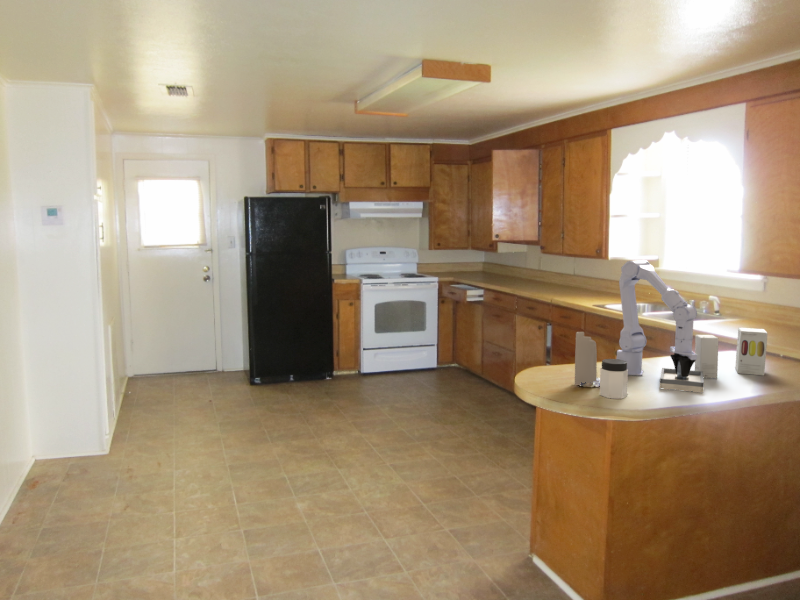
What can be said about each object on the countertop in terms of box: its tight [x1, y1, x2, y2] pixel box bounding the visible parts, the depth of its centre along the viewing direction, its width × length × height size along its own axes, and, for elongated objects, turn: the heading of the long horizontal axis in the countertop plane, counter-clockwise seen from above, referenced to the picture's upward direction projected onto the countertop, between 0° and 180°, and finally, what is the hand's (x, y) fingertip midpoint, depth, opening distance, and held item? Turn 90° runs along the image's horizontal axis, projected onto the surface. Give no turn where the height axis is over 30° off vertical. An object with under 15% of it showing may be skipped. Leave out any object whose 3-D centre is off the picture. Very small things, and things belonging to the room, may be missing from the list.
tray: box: [659, 367, 705, 394], centre depth 230 cm, size 14×18×4 cm
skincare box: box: [694, 334, 720, 379], centre depth 241 cm, size 8×7×16 cm
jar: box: [599, 358, 629, 400], centre depth 216 cm, size 9×8×12 cm
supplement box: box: [734, 327, 769, 376], centre depth 247 cm, size 10×9×17 cm
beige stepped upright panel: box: [574, 331, 598, 386], centre depth 229 cm, size 7×14×20 cm, turn 91°
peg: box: [677, 360, 687, 380], centre depth 230 cm, size 3×3×7 cm
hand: (681, 375), depth 231 cm, fingers closed on peg, 3 cm apart
